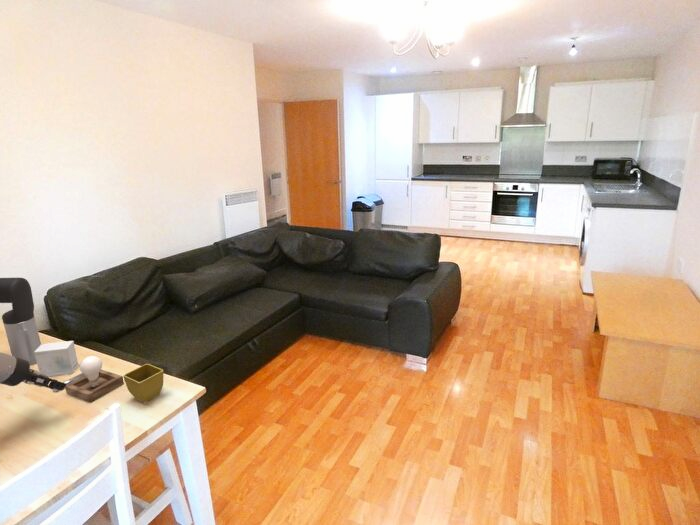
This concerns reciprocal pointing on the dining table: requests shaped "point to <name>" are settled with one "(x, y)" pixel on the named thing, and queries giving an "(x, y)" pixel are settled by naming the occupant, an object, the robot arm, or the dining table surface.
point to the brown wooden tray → (91, 394)
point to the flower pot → (144, 382)
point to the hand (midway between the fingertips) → (55, 384)
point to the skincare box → (56, 358)
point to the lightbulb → (91, 369)
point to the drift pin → (71, 380)
